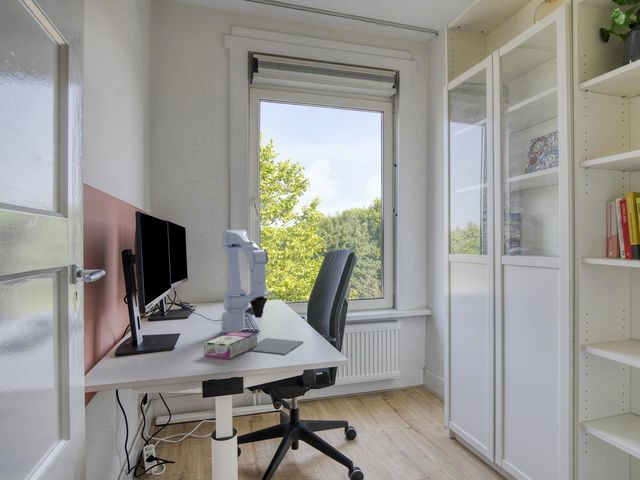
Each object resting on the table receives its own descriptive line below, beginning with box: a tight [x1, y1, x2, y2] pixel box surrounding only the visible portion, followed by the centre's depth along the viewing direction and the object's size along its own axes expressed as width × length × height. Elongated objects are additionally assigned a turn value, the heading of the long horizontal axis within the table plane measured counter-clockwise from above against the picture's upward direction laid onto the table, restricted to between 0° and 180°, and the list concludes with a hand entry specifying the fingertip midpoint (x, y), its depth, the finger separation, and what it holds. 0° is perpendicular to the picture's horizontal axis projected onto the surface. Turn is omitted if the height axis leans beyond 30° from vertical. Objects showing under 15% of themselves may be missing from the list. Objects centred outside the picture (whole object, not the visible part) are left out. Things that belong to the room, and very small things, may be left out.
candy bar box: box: [203, 331, 258, 360], centre depth 134 cm, size 11×5×16 cm
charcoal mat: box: [247, 337, 304, 356], centre depth 140 cm, size 16×16×1 cm
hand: (258, 317), depth 142 cm, fingers closed
